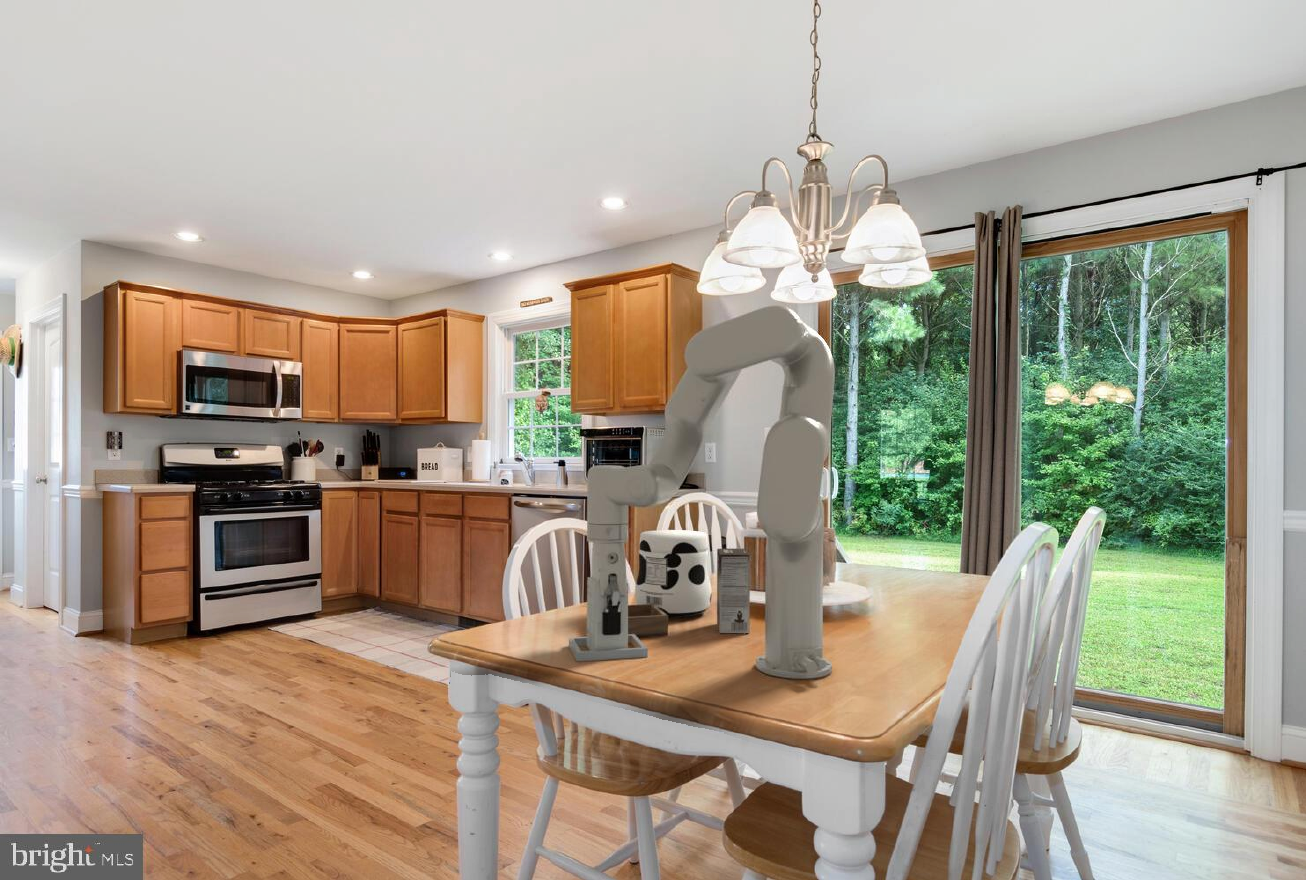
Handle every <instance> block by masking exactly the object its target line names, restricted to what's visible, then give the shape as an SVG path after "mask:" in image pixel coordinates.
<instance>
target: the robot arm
mask: <svg viewBox="0 0 1306 880" xmlns="http://www.w3.org/2000/svg"><path fill="white" fill-rule="evenodd" d="M830 349H831V348H829V346H828V345H827V343H826V341H825V340H824V339H823V338H822V336H821V335H819V333H817V332H816V331H815V330H814V329H812V328H811V327H809V326H808V325H807V324H806V323H805V322H804V321H803V320H802V319H801V318H800V317H799V315H798V314H797V313H796V312H795V311H793V310H792V309H790V308H789V307H786V306H783V305H768V306H764V307H761V308H759V309H756V310H752V311H750V312H747V313H744V314H742V315H739V316H736V317H733V318H731V319H728V320H726V321H723V322H720V323H717V324H714V325H711V326H709V327H706V328H703V329H701V330H700V331H698V332H697V333H695V334H694V335H693V336H692V337H691V338H690V339H689V340H688V343H687V344H686V347H685V351H684V361H685V364H686V366H687V368H686V370H685V371H684V374H683V375H682V377H681V378H680V380H679V382H678V383H677V386H676V387H675V389H674V391H673V393H671V396H670V397H669V399H668V401H667V403H666V404H665V408H664V418H665V419H664V420H665V429H664V434H663V436H662V439H661V441H660V444H659V445H658V448H657V449H656V451H655V453H654V455H653V456H652V458H651V460H650V462H649V463H648V464H640V465H634V466H633V465H632V466H627V467H626V466H623V465H608V464H607V465H593V466H591V467H589V469H588V471H587V483H586V484H587V489H586V490H587V493H586V494H587V501H586V502H587V503H586V507H587V511H586V514H587V515H586V541H587V542H589V543H592V548H591V550H592V551H591V553H592V554H591V577H592V578H593V579H594V581H596V582H597V583H598V584H599V586H600V596H601V597H602V598H604V612H603V618H602V633H603V635H619V634H620V633H621V607H620V598H619V596H620V595H624V596H623V597H625V596H626V595H627V583H628V582H627V562H626V561H627V560H626V546H625V543H627V542H629V507H634V508H635V507H636V508H651V507H654V506H657V505H661V504H662V505H663V504H664V503H666V502H668V501H670V500H671V499H672V498H673V497H674V496H675V495H676V494H677V492H678V491H679V489H680V487H681V486H682V485H683V483H684V481H685V479H686V477H687V476H688V474H689V473H690V470H691V469H692V467H693V466H694V463H695V461H696V458H697V456H698V454H699V452H700V450H701V447H702V444H703V442H704V441H705V437H706V434H707V431H708V429H709V428H710V426H711V424H712V422H713V421H714V418H716V415H717V414H718V412H719V410H720V408H721V407H722V405H723V403H724V401H725V400H726V398H727V396H728V395H729V393H730V391H731V389H732V388H733V386H734V385H735V383H736V381H737V379H738V377H739V375H740V373H741V372H742V370H744V369H747V368H750V367H752V366H755V365H759V364H762V363H764V362H769V361H771V362H773V363H775V364H778V365H779V366H780V367H781V368H782V370H783V373H784V380H783V385H782V391H781V403H780V409H779V417H778V420H777V421H776V422H775V423H773V424H772V426H771V428H770V429H769V430H768V432H767V434H766V436H765V441H764V445H763V451H762V461H761V468H760V469H761V470H760V477H759V486H758V494H757V501H756V502H757V503H756V518H757V520H758V524H759V526H760V528H761V529H762V531H763V532H764V534H766V541H765V542H766V545H765V576H764V577H765V579H764V582H765V585H764V587H765V590H764V594H765V597H764V600H765V601H764V605H765V607H764V610H765V611H764V615H765V620H764V622H765V623H764V624H765V626H764V629H765V630H764V631H765V632H764V637H765V638H764V641H765V642H764V644H765V646H764V649H765V650H764V654H760V655H759V656H758V657H756V659H755V667H756V668H757V670H758V671H760V672H762V673H764V674H767V675H769V676H772V677H773V676H774V677H778V678H785V679H791V680H792V679H793V680H797V679H798V680H804V679H806V680H807V679H817V678H822V677H826V676H828V675H830V674H831V673H832V671H833V663H832V662H831V661H830V660H829V659H828V658H825V657H824V656H823V654H824V653H823V650H824V649H823V647H824V646H823V644H824V643H823V637H824V636H823V633H824V632H823V631H824V630H823V629H824V628H823V627H824V625H823V624H824V623H823V616H824V615H823V613H824V612H823V610H824V609H823V608H824V607H823V605H824V604H823V601H824V600H823V599H824V597H823V594H824V593H823V591H824V590H823V589H824V588H823V586H824V585H823V583H824V582H823V580H824V578H823V577H824V539H825V538H824V537H825V535H824V533H825V507H824V502H823V499H822V497H821V486H822V480H823V471H824V465H825V462H826V459H827V458H828V455H829V452H830V433H831V423H832V413H833V401H834V400H833V399H834V393H835V392H834V391H835V379H836V378H835V377H836V374H835V372H836V369H835V362H834V358H833V355H832V352H831V350H830ZM608 581H609V586H610V590H611V594H607V595H606V593H604V590H606V589H607V587H608ZM607 599H609V601H607Z"/></svg>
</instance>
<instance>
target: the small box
mask: <svg viewBox="0 0 1306 880" xmlns="http://www.w3.org/2000/svg"><path fill="white" fill-rule="evenodd" d="M586 585H587V589H586V592H587V593H586V594H587V595H586V597H587V598H586V599H587V600H586V637H587V646H586V647H587V649H588V651H594V650H610V649H626V648H629V643H628V605H629V583H628V582H627V595H626V596H625V597H623V596H624V595H620V596H619V598H620V607H621V633H620V634H619V635H603V633H602V618H603V612H604V598H602V597H601V596H600V586H599V584H598V583H597V582H596V581H594V579H593V578H592V576H588V577H587V582H586ZM604 593H606V595H607V594H611V590H610V586H609V581H608V587H607V589H606V590H604ZM607 601H609V599H607Z"/></svg>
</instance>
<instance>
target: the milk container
mask: <svg viewBox="0 0 1306 880" xmlns="http://www.w3.org/2000/svg"><path fill="white" fill-rule="evenodd" d="M708 550H709V540H708V534H707V533H706V532H703V531H697V530H689V529H688V530H686V529H684V530H683V529H658V530H647V531H642V532H640V535H639V551H638V561H639V563H638V568H639V569H638V575H637V579H636V582H635V586H634V597H635V605H642V604H654V605H655V606H657V607H658V608H659V609H660V610H662V611H663V612H664V613H665V614H667V615H668V618H685V617H691V616H692V617H693V616H696V615H700V614H703V613H705V612H706V611H707V610H709V608H710V606H711V603H712V594H713V592H712V591H713V590H712V584H711V581H710V576H709V573H708V572H709V571H708V561H709V552H708Z"/></svg>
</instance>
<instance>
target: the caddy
mask: <svg viewBox="0 0 1306 880" xmlns="http://www.w3.org/2000/svg"><path fill="white" fill-rule="evenodd" d="M628 634H635V635H636V636H637V637H638V639H639V638H640V639H641V638H657V637H668V636H669V617H668V615H667V614H665V613H664V612H663V611H662V610H660V609H659V608H658V607H657V606H655V605H654V604H642V605H637V604H628Z"/></svg>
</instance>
